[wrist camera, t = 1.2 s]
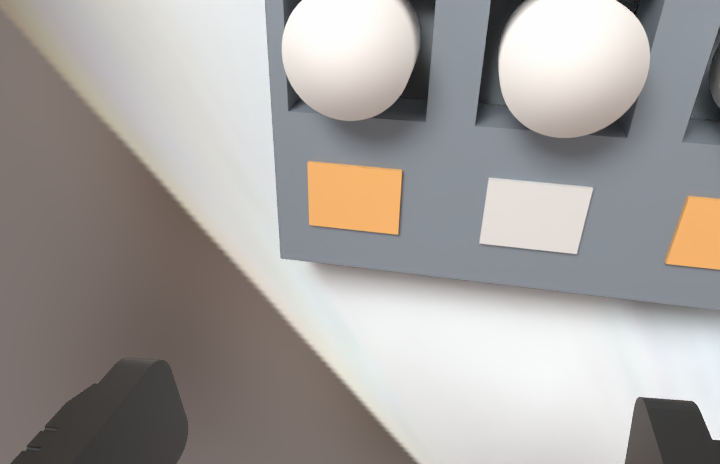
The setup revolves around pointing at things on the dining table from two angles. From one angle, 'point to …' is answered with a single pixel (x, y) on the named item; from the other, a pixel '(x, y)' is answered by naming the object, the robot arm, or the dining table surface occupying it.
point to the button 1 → (350, 54)
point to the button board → (511, 174)
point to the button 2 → (715, 77)
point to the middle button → (571, 64)
